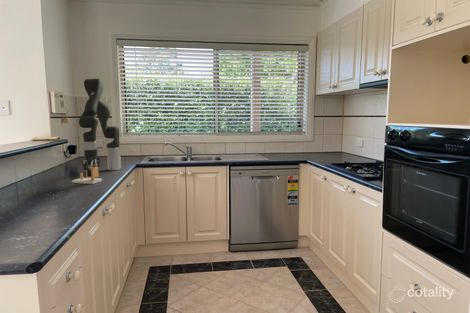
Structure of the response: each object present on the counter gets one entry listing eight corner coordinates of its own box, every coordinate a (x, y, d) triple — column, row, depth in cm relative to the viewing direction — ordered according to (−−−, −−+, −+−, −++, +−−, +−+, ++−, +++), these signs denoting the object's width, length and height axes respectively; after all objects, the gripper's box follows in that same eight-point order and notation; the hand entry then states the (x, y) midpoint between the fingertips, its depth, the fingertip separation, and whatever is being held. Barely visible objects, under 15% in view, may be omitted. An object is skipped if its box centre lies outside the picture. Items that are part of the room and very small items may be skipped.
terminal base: (82, 179, 209) (81, 171, 209) (102, 180, 206) (101, 172, 205) (72, 182, 201) (71, 174, 200) (92, 183, 197) (92, 175, 196)
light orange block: (91, 176, 205) (91, 166, 204) (98, 176, 204) (98, 167, 203) (86, 177, 200) (85, 168, 199) (93, 177, 199) (92, 168, 198)
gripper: (92, 147, 207) (94, 173, 210) (77, 150, 193) (79, 177, 196) (103, 147, 205) (104, 173, 208) (87, 150, 192) (89, 178, 194)
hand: (92, 175), depth 202 cm, fingers closed on light orange block, 5 cm apart
